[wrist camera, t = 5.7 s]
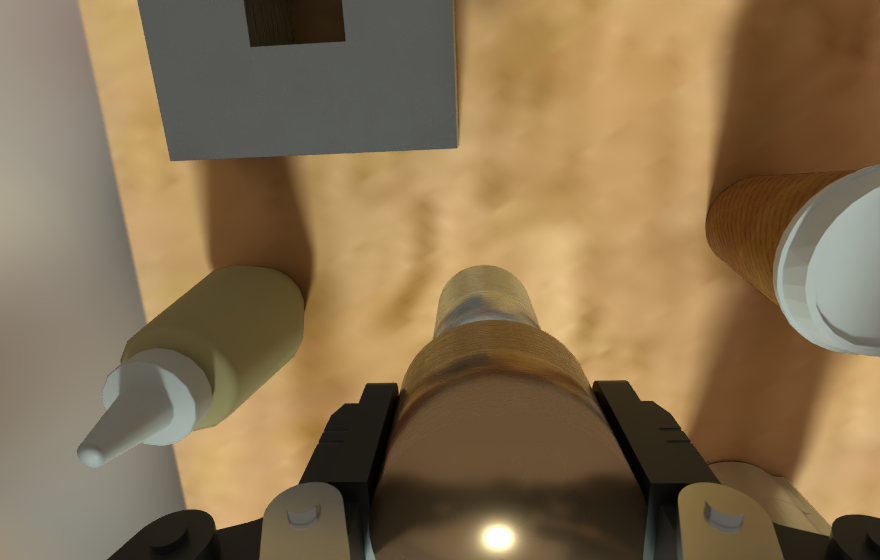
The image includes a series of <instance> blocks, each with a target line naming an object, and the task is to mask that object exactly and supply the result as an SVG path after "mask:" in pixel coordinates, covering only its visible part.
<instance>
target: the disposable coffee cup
mask: <svg viewBox="0 0 880 560" xmlns="http://www.w3.org/2000/svg"><path fill="white" fill-rule="evenodd" d="M706 237H707V241H708V244H709V246H710V248H711V250H712V251H713V252H714V253H715V254H716V255H717V256H718V257H719V258H720V259H721V260H723V261H724V262H725V263H727V264H728V265H729V266H730V267H731V268H733V269H734V270H735V271H736V272H737V273H738V274H740V275H741V276H742V277H743V278H744V279H746V280H747V281H748V282H749V283H751V284H752V285H753V286H754V287H755V288H756V289H758V290H759V291H760V292H761V293H762V294H764V295H765V296H766V297H767V298H769V299H770V300H771V301H772V302H773V303H775V304H776V305H777V306H778V307H779V308H781V310H782V312H783V314H784V315H785V317H786V319H787V320H788V322H789V323H790V325H791V326H792V327H793V328H794V329H795V330H796V331H797V332H798V333H800V334H801V335H802V336H803V337H805V338H806V339H807V340H809V341H810V342H811V343H814V344H816V345H818V346H820V347H823V348H825V349H827V350H831V351H835V352H839V353H846V354H856V355H859V354H861V355H867V356H877V357H880V164H877V165H873V166H869V167H865V168H862V169H860V170H857V171H836V172H819V173H804V174H787V175H786V174H784V175H769V176H754V177H749V178H746V179H743V180H740V181H738V182H736V183H735V184H733V185H731V186H730V187H728V188H727V189H726V190H724V191H723V192H722V193H721V194H720V196H719V197H718V198H717V199H716V200H715V202H714V204H713V205H712V207H711V209H710V211H709V214H708V216H707V221H706Z"/></svg>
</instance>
